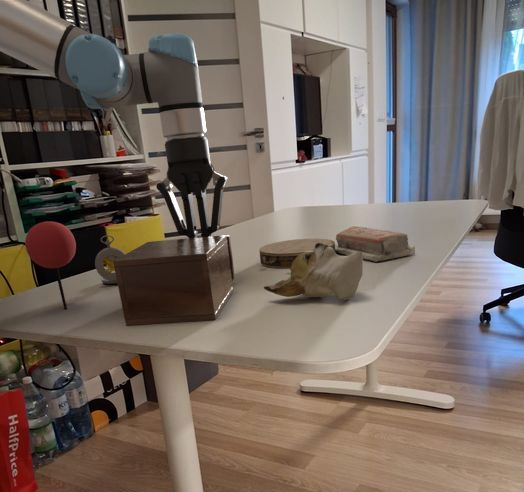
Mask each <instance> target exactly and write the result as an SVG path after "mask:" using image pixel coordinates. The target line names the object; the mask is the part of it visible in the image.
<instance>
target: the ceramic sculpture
mask: <svg viewBox="0 0 524 492" xmlns="http://www.w3.org/2000/svg"><path fill="white" fill-rule="evenodd" d="M363 261H364V259H363V254H362V252H361V251H359V252H357V253H355V254H351V255H339V254H338V253H336V252H335V251H334V249H333V248H331V247H330V246H328V245H325V244H322V243H317V244H316V245H315V248H314V251H306V252H304V253H302V254H300V255H298V256H297V257H296V259H295V260H294V261H293V263H292V266H291V268H290V277H289V278H288V279H283V280H280V281H278V282H276V283H274V284H273V285H266V286H263V289H264V290H265V291H267V292H270V293H272V294H275V295H277V296H281V297H285V298H292V297H293V298H294V297H298V296H301V295H302V296H304V297H307V298H323V297H326V296H328V295H334V296H336V297H337V298H338V299H339V300H343V301H344V300H350V299H352V298H354V296H355V295H356V293H357V290H358V287H359V284H360V281H361V279H362V277H363V269H364V265H363V264H364V263H363Z"/></svg>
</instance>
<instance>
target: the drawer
mask: <svg viewBox="0 0 524 492" xmlns="http://www.w3.org/2000/svg"><path fill="white" fill-rule="evenodd" d="M226 236H227V244H228V252H229V260H230V268H231V276H232V281H234V280H235V279H236V275H235V267H234V259H233V250H232V243H231V236H230V234H227V235H226Z"/></svg>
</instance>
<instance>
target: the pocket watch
mask: <svg viewBox="0 0 524 492" xmlns="http://www.w3.org/2000/svg"><path fill="white" fill-rule="evenodd" d="M105 237H109V238H111V241H110V239H109V238H107V239H106V241H103V239H104V238H105ZM114 241H115V238H114V237H113V235H109V234H108V235H107V234H106V235H103V236H102V237H100V242H101V243H102V244H104V245H106V247H105V248H103V249H101V250H100V251H98V253H97V255H96V256H95V259H94V267H95V270H96V272H97V273H98V275H99V276H100V277H101V280H100V281H101V282H102V284H107V285H111V284H113V285H114V284H118V283H117V279H116V274H115V269H114V264H113V261H114V260H116V259H118V258H120V257H121V256H123V255H125V254H126V252H125V251H123V250H122V249H120V248H117V247H114V246H113V247H112V246H111V244H112V243H113V242H114Z"/></svg>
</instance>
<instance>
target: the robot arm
mask: <svg viewBox="0 0 524 492" xmlns="http://www.w3.org/2000/svg"><path fill="white" fill-rule="evenodd" d="M147 50H148V51H144V52H141V53H133V54H123V53H122V51H121V49H120V48H118V46H117V45H116V44H115V43H114V42H113V41H111V40H109V39H108V38H106V37H104V36H102V35H100V34H95V33H91V32H88V31H86V30H85V29H83V28H81V27H78V26H76V25H74V23H72V22H70V21H68V20H65V19H63V18H62V17H59V16H58V15H56V14H55V13H52V12H50V11H48V10H47V9H44V8H43V7H41V6H39V5H36V4H35V3H33V2H31V1H29V0H0V52H1V53H3V54H5V55H7V56H9V57H12V58H14V59H15V60H18V61H20V62H22V63H24V64H26V65H28V66H29V67H32V68H34V69H36V70H38V71H40V72H43V74H47V75H49V76H50V77H53V78H55V79H57V80H59V81H61V82H62V83H64V84H66V85H69V86H70V87H72V88H75V89H76V90H78V91H79V92H80V96H81V98H82V100H83V102H84V104H85V106H86V107H87V108H89V109H91V110H99V109H100V110H101V109H103V110H112V109H113V108H122V107H129V106H138V105H146V104H155V103H157V106H158V113H159V117H160V124H161V131H162V132H161V133H162V137H163V138H165V139H166V141H165V143H164V149H165V156H166V162H167V163H166V164H167V171H166V177H165V178H164V179H163V180H162V181H161V182H158V183H157V184H156V185H155V187H156V189H157V190H158V192H159V193H160V195H162V197H163V199H164V201H165V203H166V207H167V209H168V211H169V214H170V216H171V219H172V221H173V224H174V226H175V229H176V231H177V234H178V235H179V236H185V237H186V238H199V237H210V236H212V234H214V233H216V232H217V231H219V230H220V227H221V218H222V207H223V197H224V189H225V187H226V185H227V183H228V179H229V177H228V176H227V175H222V174H220V173H218V172H216V171H215V167H214V165H213V164H212V162H211V156H210V149H209V141H208V138H207V136H205V135H204V134H206V132H207V127H206V117H205V111H204V105H203V96H202V88H201V80H200V71H199V66H198V59H197V53H196V47H195V42H194V40H193V39H192V38H191V37H190V36H189V35H188V34H185V33H176V32H174V33H172V32H171V33H163V34H160V35H159V34H158V35H155V36H152V37H151V38H150V39H149V40H148V49H147ZM211 181H212V184H213V186H214V189H213V196H212V197H213V198H212V208H211V219H210V215H209V209H208V202H207V189H208V186H209V185H210V183H211ZM173 186H174V187H175V188H176V189H177V190H178V192H179V193H180V197H181V200H182V205H183V206H182V207H183V212H184V217H183V214H182V212H181V209H180V206H179V203H178V201H177V199H176V196H175V194H174V192H173ZM193 193H194V194H193ZM193 195H194V196H193ZM194 197H195V199H196V207H197V211H198V219H199V220H198V221H199V225H200V235H198V234H199V231H198V228H197V227H198V226H197V221H196V214H195V208H194V201H193V199H194ZM184 218H185V219H184ZM210 220H211V221H210Z"/></svg>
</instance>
